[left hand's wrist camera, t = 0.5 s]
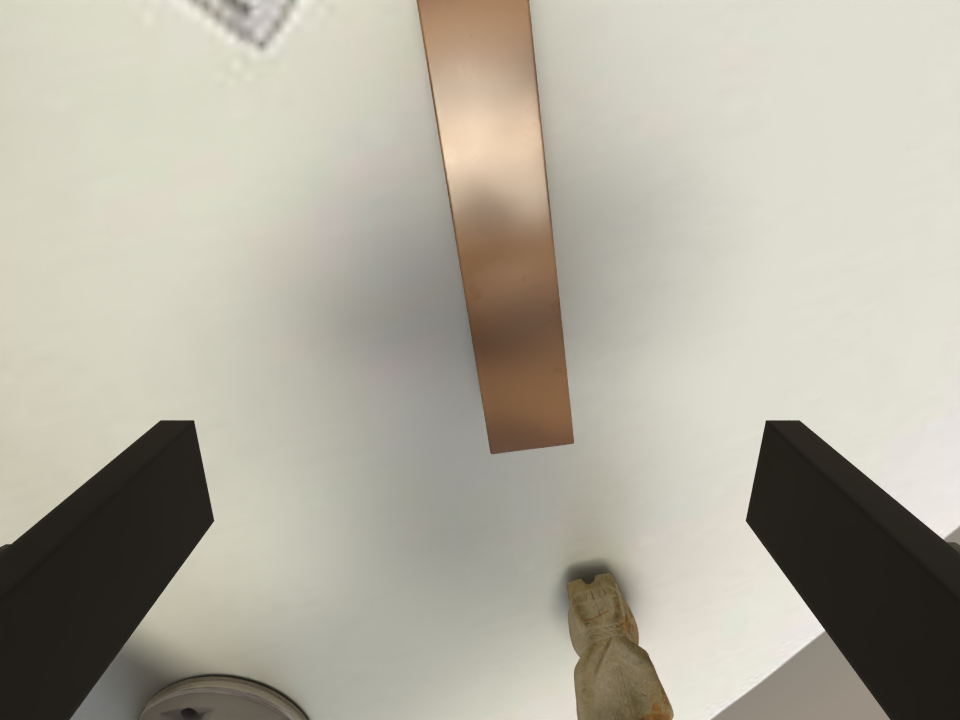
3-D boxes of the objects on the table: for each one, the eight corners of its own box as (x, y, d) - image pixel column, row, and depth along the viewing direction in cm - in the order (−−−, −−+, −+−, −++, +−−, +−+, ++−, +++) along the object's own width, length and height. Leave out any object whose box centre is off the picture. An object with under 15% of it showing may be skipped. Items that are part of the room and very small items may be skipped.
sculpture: (566, 641, 44) (606, 868, 30) (549, 570, 42) (584, 782, 28) (639, 628, 44) (714, 853, 30) (626, 556, 41) (702, 764, 27)
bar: (555, 384, 37) (574, 444, 29) (488, 393, 37) (490, 455, 29) (509, -29, 28) (519, -95, 21) (424, -14, 29) (404, -74, 21)
